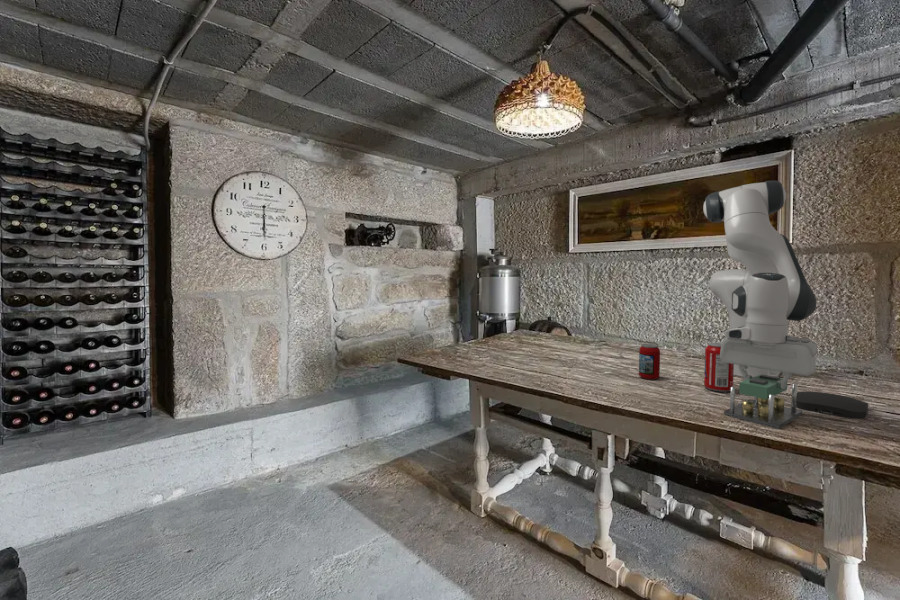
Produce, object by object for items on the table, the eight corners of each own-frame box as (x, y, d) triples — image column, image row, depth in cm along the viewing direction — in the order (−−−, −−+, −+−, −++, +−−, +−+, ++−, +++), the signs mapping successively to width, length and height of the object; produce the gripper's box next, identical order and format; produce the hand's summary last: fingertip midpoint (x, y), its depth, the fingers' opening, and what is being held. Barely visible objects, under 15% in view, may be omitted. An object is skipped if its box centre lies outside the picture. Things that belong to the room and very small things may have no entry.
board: (760, 384, 113) (761, 372, 113) (786, 389, 108) (787, 376, 108) (739, 393, 105) (739, 380, 105) (766, 399, 100) (767, 385, 100)
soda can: (718, 394, 125) (719, 347, 124) (698, 387, 133) (699, 342, 132) (739, 392, 127) (740, 345, 126) (718, 385, 134) (719, 341, 133)
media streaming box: (799, 397, 122) (800, 387, 122) (868, 409, 111) (869, 398, 111) (790, 408, 113) (791, 398, 112) (865, 422, 102) (865, 411, 101)
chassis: (750, 402, 117) (751, 375, 117) (802, 414, 107) (804, 385, 107) (723, 414, 107) (724, 385, 107) (778, 429, 98) (779, 397, 97)
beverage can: (634, 376, 147) (635, 344, 146) (649, 374, 149) (649, 343, 148) (648, 381, 141) (649, 347, 140) (663, 379, 143) (664, 346, 142)
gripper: (821, 337, 99) (818, 392, 100) (728, 328, 116) (726, 375, 117) (813, 340, 95) (810, 397, 96) (718, 330, 112) (716, 378, 113)
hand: (763, 385), depth 107 cm, fingers closed on board, 6 cm apart
